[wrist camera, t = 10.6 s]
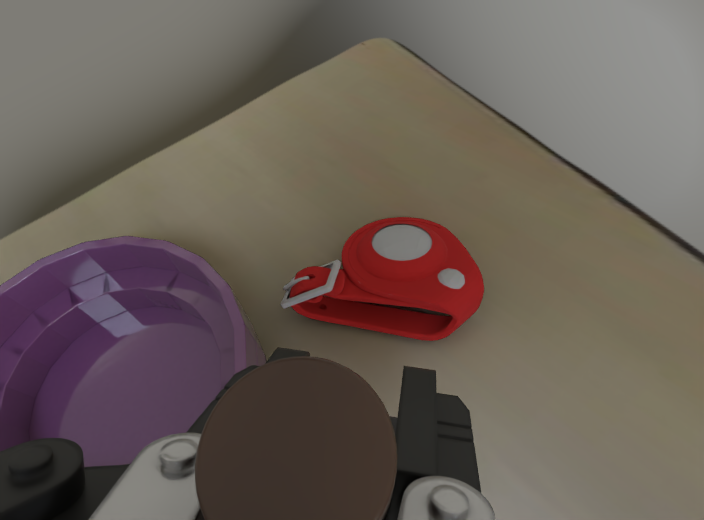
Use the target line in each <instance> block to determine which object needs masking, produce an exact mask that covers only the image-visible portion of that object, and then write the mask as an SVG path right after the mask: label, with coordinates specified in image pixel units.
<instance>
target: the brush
mask: <svg viewBox="0 0 704 520" xmlns="http://www.w3.org/2000/svg"><path fill="white" fill-rule="evenodd" d="M397 419H398V418H397V417H391V416H389V414H388V412H387V410H386V408H385V406H384V404H383V402H382V401H381V399H380V398H379V396H378V395H377V393H376V392H375V391H374V390H373V389H372V387H371V386H370V385H369V384H368V383H367V382H366V381H365V380H364V379H363V378H361V377H360V376H359V375H358V374H356V373H355V372H353V371H352V370H350V369H349V368H347V367H345V366H343V365H341V364H339V363H336V362H333V361H331V360H327V359H323V358H318V357H309V356H297V357H288V358H282V359H278V360H275V361H272V362H269V363H266V364H264V365H262V366H260V367H258V368H256V369H254V370H252V371H251V372H249V373H247V374H246V375H245V376H243V377H242V378H241V379H239V380H238V381H237V382H236V383H235V384H233V385H232V386H231V387H230V388H229V389H228V390H227V391H226V393H225V394H224V395H223V396H222V397H221V399H220V400H219V401H218V403H217V404H216V406H215V407H214V409H213V410H212V412H211V414H210V416H209V418H208V419H207V421H206V423H205V426H204V428H203V431H202V434H201V436H200V440H199V444H198V448H197V453H196V461H195V485H196V494H197V498H198V502H199V506H200V509H201V512H202V514H203V517H204V519H205V520H386V516H387V513H388V510H389V506H390V503H391V498H392V494H393V489H394V484H395V478H396V473H397V444H396V438H395V436H396V428H397Z"/></svg>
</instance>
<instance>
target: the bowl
mask: <svg viewBox="0 0 704 520" xmlns="http://www.w3.org/2000/svg"><path fill="white" fill-rule="evenodd" d="M264 364H266V358H265V354H264V352H263V349H262V347H261V345H260V342H259V340H258V337H257V335H256V332H255V330H254V328H253V325H252V323H251V321H250V320H249V318H248V316H247V315H246V313H245V311H244V310H243V308H242V306H241V304H240V303H239V301H238V299H237V298H236V296H235V294H234V292H233V291H232V289H231V287H230V286H229V285H228V283H227V282H226V281H225V280H224V279H223V278H222V277H221V276H220V275H219V274H218V273H217V272H216V271H215V270H214V269H213V268H212V267H211V266H210V265H209V264H208V262H207V261H206V260H205V259H204V258H202V257H200V256H198V255H196V254H194V253H192V252H190V251H188V250H186V249H184V248H181V247H179V246H177V245H175V244H173V243H171V242H169V241H164V240H156V239H148V238H140V237H133V236H122V237H115V238H108V239H101V240H95V241H88V242H84V243H80V244H77V245H75V246H72V247H70V248H67V249H65V250H62V251H60V252H57V253H55V254H52V255H49V256H47V257H44V258H42V259H40V260H38V261H36V262H35V263H33V264H32V265H30V266H29V267H27V268H26V269H24V270H23V271H21V272H20V273H18V274H17V275H15V276H14V277H12V278H11V279H9V280H8V281H6V282H5V283H3V284H2V285H0V451H3V450H5V449H8V448H10V447H13V446H15V445H18V444H21V443H24V442H28V441H31V440H37V439H43V438H64V439H68V440H71V441H74V442H76V443H77V444H78V445H79V446H80V447H81V448H82V451H83V458H84V467H92V466H109V465H124V464H131V462H132V461H133V460H134V458H135V457H136V456H137V454H138V453H139V452H140V451H141V450H142V449H143V448H144V447H146V446H147V445H148V444H150V443H152V442H153V441H155V440H157V439H159V438H162V437H165V436H168V435H172V434H177V433H186V432H187V431H188V430H189V428H190V427H191V426H192V425H193V423H194V422H195V421H196V420H197V419H198V417H199V416H200V415H201V414H202V413H203V411H204V410H205V409H206V408H207V407H208V405H209V404H210V403H211V402H212V401H213V400H215V398H216V396H217V395H218V393H219V392H220V391H221V390H222V389H224V386H225V385H226V384H227V383H228V381H229V380H230V379H231V378H232V377H233V375H234V374H236V373H238V372H239V371H241V370H243V369H245V368H247V367H249V366H251V365H257V366H262V365H264Z"/></svg>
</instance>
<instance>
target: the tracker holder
mask: <svg viewBox="0 0 704 520" xmlns="http://www.w3.org/2000/svg"><path fill="white" fill-rule="evenodd" d="M340 265H341V262H340V261H339V260H335V261H332V262H330V263H327V264H325V265H322V266H320V267H318V266H313V267H307V268H304V269H303V270H301V271H299V272H298V273H297V274H296V276H295V277H293V278H292V280H291V282H289V283H288V284H286V285H285V286H283V290H285V291H286V290H287V291H286V293H285V295H284V298H283V300H282V302H281V306H282V307H283V308H287V307H290V306H291V307H292V308H293V309H294V310H295V311H296V312H297V313H299V314H301V315H303V316H306V317H308V318H311V319H315V320H320V321H325V322H330V323H336V324H342V325H348V326H353V327H358V328H363V329H368V330H373V331H378V332H383V333H388V334H394V335H399V336H404V337H409V338H414V339H419V340H429V341H433V340H439V339H442V338H445V337H447V336H449V335H450V334H451V333H452V332H454V331H455V330H456V329H457V328H458V327H459V326H460V325H462V324H463V323H464V322H465V321H466V320H467V319H468V318H470V317H471V316H472V315H473V314H474V313H475V312H476V310H477V309H478V308H479V306H480V303H481V300H482V298H483V292H484V285H483V279H482V275H481V272H480V270H479V268H478V266H477V264H476V263H475V261H474V260H473V259H472V257H471V256H470V254H469V253H468V251H467V250H466V248H465V247H464V246H463V245H462V243H461V242H460V241H459V240H458V239H457V238H456V237H455V236H454V235H453V234H452V233H451V232H450V231H449V230H447V229H446V228H445V227H443V226H441V225H440V224H437V223H434V222H431V221H428V220H424V219H419V218H409V217H397V218H387V219H382V220H378V221H375V222H372V223H370V224H367V225H365V226H363V227H362V228H360V229H359V230H357V231H356V232H354V233H353V234H352V235H351V236H350V237H349V239H348V240H347V241H346V243H345V245H344V247H343V250H342V265H343V269H339V268H340ZM323 295H325V296H323ZM326 296H328V297H326ZM330 297H331V298H330ZM334 298H335V299H334ZM340 299H341V300H340ZM349 300H350V301H349ZM355 301H359V302H355ZM361 302H368V303H378V304H387V305H396V306H406V307H415V308H422V309H427V310H432V311H437V312H441V313H445V314H449V315H451V316H439V315H433V314H427V313H421V312H415V311H409V310H403V309H397V308H391V307H385V306H379V305H373V304H367V303H361Z"/></svg>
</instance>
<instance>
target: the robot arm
mask: <svg viewBox="0 0 704 520" xmlns="http://www.w3.org/2000/svg"><path fill="white" fill-rule="evenodd" d="M297 356H309V357H310V353H309V352H307V351H300V350H293V349H286V348H279V347H278V348H277V349H276V350H275V351H274V353H273V354H272V356H271V357H270V358H269V360H268V361H267V362H266V363H269V362H272V361H275V360H278V359H282V358H288V357H297ZM258 367H260V366H257V365H251V366H249V367H247V368H245V369H243V370H241V371H239V372H238V373H236V374H234V375H233V377H232V378H231V379H230V380H229V381H228V383H227V384H226V385H225V386H224V389H222V390H221V391H220V392H219V393H218V395H217V396H216V398H215V400H213V401H212V402H211V403H210V404H209V405H208V407H207V408H206V409H205V410H204V411H203V413H202V414H201V415H200V416H199V417H198V419H197V420H196V421H195V422H194V423H193V425H192V426H191V427H190V428H189V430H188V431H187V432H186V433H177V434H172V435H168V436H165V437H162V438H159V439H157V440H155V441H153V442H152V443H150V444H148V445H147V446H146V447H144V448H143V449H142V450H141V451H140V452H139V453H138V454H137V456H136V457H135V458H134V460H133V461H132V462H131V464H124V465H109V466H92V467H84V458H83V451H82V448H81V447H80V446H79V445H78V444H77V443H76V442H74V441H71V440H68V439H64V438H43V439H37V440H31V441H28V442H24V443H21V444H18V445H15V446H13V447H10V448H8V449H5V450H3V451H0V520H205V519H204V517H203V514H202V512H201V509H200V506H199V502H198V498H197V494H196V485H195V461H196V453H197V448H198V444H199V440H200V436H201V434H202V431H203V428H204V426H205V423H206V421H207V419H208V418H209V416H210V414H211V412H212V410H213V409H214V407H215V406H216V404H217V403H218V401H219V400H220V399H221V397H222V396H223V395H224V394H225V393H226V391H227V390H228V389H229V388H230V387H231V386H232V385H233V384H235V383H236V382H237V381H238V380H239V379H241V378H242V377H243V376H245V375H246V374H247V373H249V372H251V371H252V370H254V369H256V368H258ZM395 438H396V444H397V473H396V478H395V484H394V489H393V494H392V498H391V503H390V506H389V510H388V513H387V516H386V520H495V514H494V511H493V509H492V507H491V505H490V503H489V502H488V501H487V499H486V498H485V497H484V496H483V495H482V494H481V488H480V481H479V475H478V468H477V461H476V454H475V447H474V443H473V433H472V429H471V419H470V412H469V410H468V409H467V407H466V406H465V405H464V404H463V402H462V401H461V400H460V398H459V397H458V396H453V395H447V394H440V393H436V371H435V370H429V369H422V368H415V367H408V366H404V369H403V377H402V386H401V394H400V403H399V411H398V419H397V428H396V436H395Z"/></svg>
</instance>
